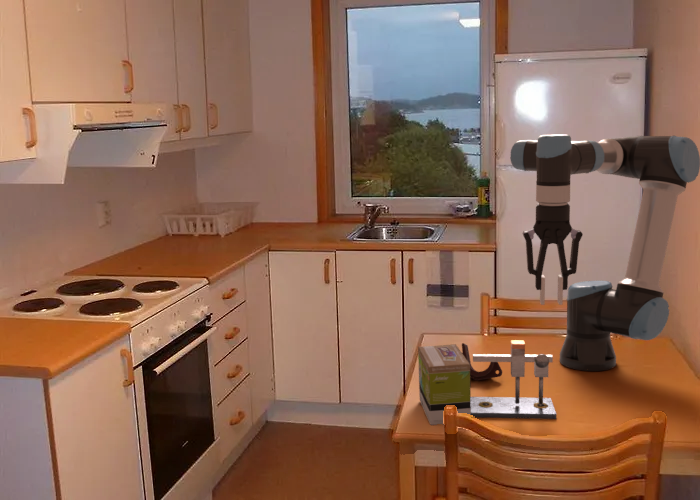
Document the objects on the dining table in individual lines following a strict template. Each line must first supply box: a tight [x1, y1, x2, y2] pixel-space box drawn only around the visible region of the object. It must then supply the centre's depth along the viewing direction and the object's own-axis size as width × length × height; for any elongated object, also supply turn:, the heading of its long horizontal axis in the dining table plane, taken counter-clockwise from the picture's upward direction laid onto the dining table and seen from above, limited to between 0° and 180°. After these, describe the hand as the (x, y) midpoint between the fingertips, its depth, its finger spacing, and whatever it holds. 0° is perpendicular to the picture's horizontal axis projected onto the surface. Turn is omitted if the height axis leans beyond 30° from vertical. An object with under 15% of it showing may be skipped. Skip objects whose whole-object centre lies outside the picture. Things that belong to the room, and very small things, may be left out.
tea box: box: [417, 343, 472, 426], centre depth 185 cm, size 15×10×15 cm, turn 5°
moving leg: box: [510, 339, 526, 404], centre depth 184 cm, size 3×3×15 cm
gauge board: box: [471, 396, 557, 420], centre depth 186 cm, size 20×10×1 cm, turn 83°
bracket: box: [461, 342, 503, 381], centre depth 208 cm, size 6×17×10 cm, turn 78°
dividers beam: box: [472, 353, 554, 404], centre depth 185 cm, size 18×3×13 cm, turn 83°
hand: (551, 302), depth 180 cm, fingers open, 3 cm apart
